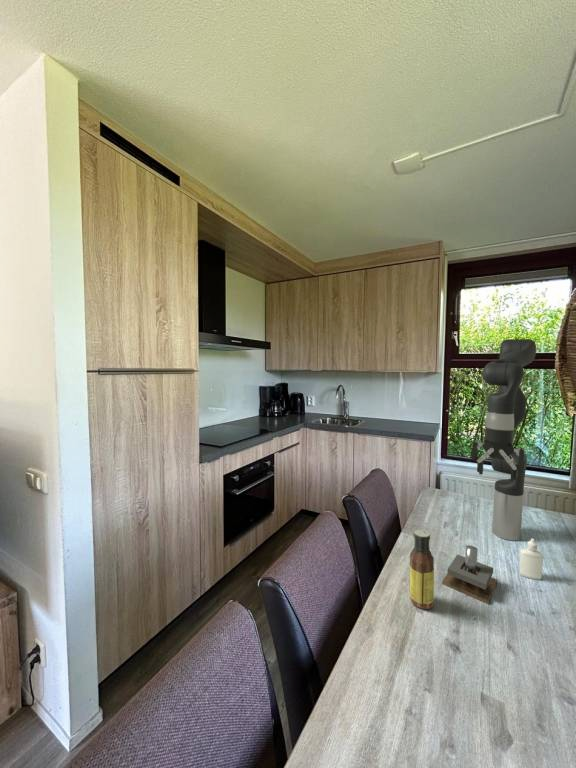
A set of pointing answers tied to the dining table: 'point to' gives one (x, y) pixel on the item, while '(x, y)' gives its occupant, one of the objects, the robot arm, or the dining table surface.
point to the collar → (477, 580)
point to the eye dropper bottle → (531, 561)
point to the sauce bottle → (421, 571)
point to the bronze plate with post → (467, 587)
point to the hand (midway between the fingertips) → (496, 477)
